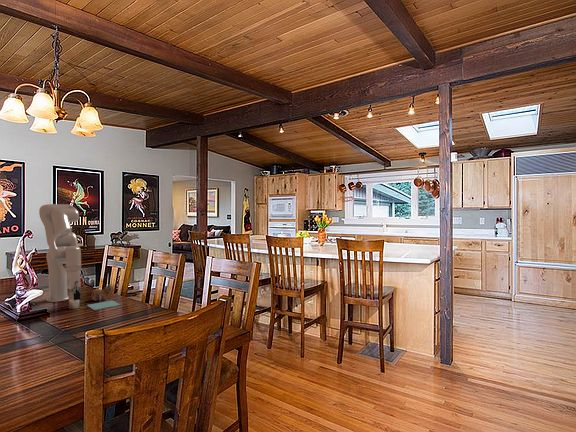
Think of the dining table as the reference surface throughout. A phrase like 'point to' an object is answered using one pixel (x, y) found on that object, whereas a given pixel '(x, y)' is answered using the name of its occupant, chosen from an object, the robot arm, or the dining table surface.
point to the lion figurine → (102, 292)
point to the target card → (103, 305)
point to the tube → (72, 300)
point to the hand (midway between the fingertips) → (74, 298)
